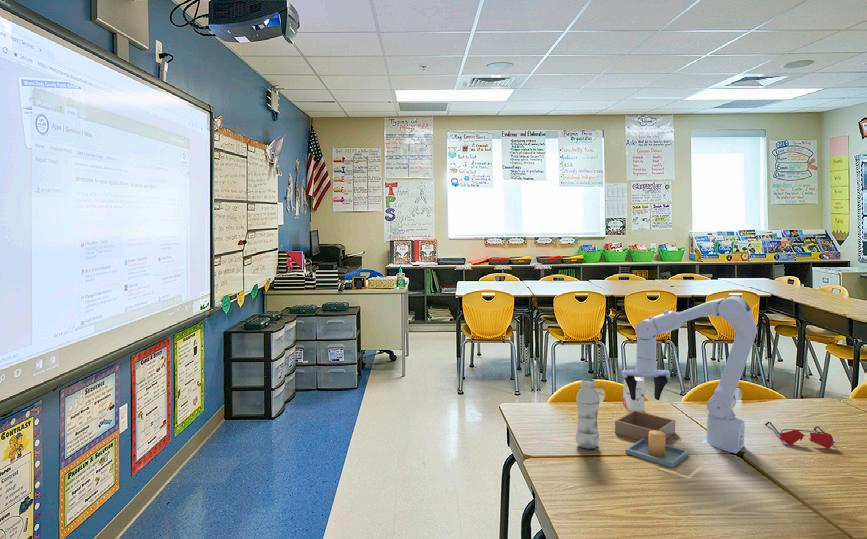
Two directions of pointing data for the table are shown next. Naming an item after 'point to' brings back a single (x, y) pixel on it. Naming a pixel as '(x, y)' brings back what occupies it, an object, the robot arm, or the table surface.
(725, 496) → the table surface
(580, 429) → the plastic bottle
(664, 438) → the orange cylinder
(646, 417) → the brown storage bin
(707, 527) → the table surface
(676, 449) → the tray
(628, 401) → the ink cartridge box
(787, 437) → the glasses
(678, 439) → the table surface
